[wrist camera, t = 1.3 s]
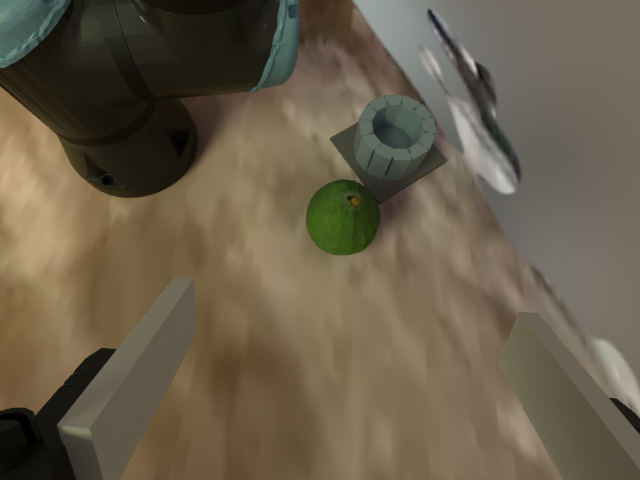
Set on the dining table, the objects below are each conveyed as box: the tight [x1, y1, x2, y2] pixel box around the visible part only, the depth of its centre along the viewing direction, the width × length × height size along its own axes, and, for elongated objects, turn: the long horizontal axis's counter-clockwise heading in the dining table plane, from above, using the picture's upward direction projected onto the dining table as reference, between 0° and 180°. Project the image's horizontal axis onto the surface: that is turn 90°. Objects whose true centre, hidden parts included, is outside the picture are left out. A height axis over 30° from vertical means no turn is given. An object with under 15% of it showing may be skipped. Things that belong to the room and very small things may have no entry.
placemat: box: [330, 123, 446, 204], centre depth 47 cm, size 11×11×1 cm
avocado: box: [306, 179, 380, 255], centre depth 38 cm, size 8×8×12 cm
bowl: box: [354, 95, 436, 181], centre depth 45 cm, size 9×9×5 cm
